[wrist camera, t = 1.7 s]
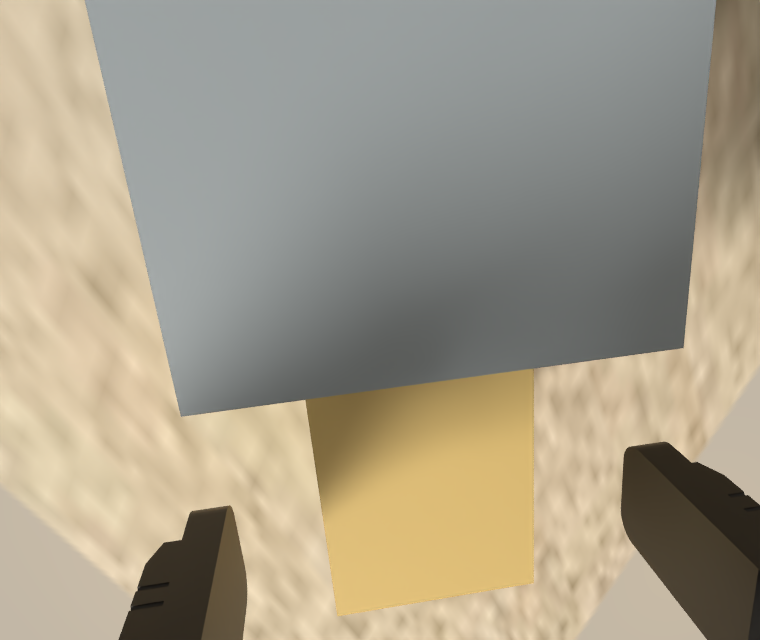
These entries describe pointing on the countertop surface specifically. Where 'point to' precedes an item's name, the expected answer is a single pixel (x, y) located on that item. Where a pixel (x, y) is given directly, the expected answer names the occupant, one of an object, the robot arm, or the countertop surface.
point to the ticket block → (406, 184)
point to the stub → (426, 489)
